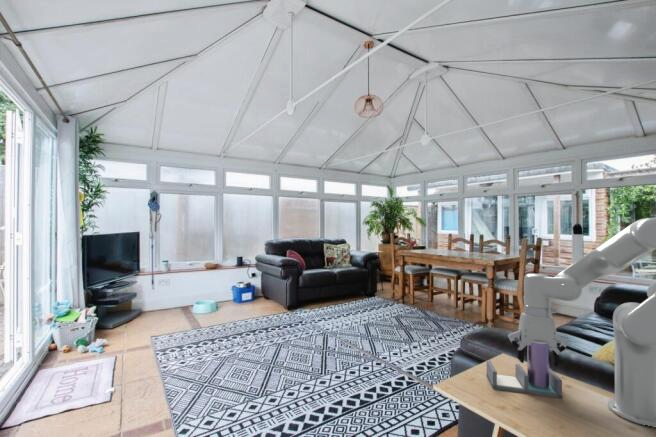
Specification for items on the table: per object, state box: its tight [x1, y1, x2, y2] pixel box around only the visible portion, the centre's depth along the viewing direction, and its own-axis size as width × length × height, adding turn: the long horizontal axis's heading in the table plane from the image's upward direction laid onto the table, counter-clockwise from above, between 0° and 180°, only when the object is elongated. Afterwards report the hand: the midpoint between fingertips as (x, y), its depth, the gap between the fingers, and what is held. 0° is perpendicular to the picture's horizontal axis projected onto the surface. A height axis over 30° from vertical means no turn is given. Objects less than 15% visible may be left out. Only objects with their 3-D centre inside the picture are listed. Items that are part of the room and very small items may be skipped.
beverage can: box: [526, 341, 550, 389], centre depth 102 cm, size 6×6×15 cm
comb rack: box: [486, 359, 563, 399], centre depth 104 cm, size 20×9×6 cm, turn 74°
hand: (537, 363), depth 103 cm, fingers open, 9 cm apart
